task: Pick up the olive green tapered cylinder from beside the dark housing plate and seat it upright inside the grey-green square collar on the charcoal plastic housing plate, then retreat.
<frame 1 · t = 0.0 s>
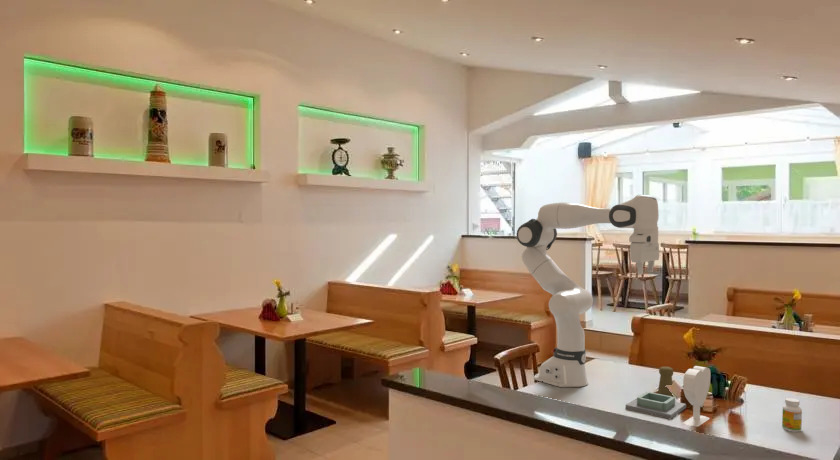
hand: (645, 273, 229), 48 cm above the table, fingers open, 8 cm apart
supplement bottle: (791, 429, 197), on the table
housing: (655, 408, 217), on the table
heart sculpture: (696, 421, 204), on the table
olive green tapered cylinder: (665, 395, 233), on the table
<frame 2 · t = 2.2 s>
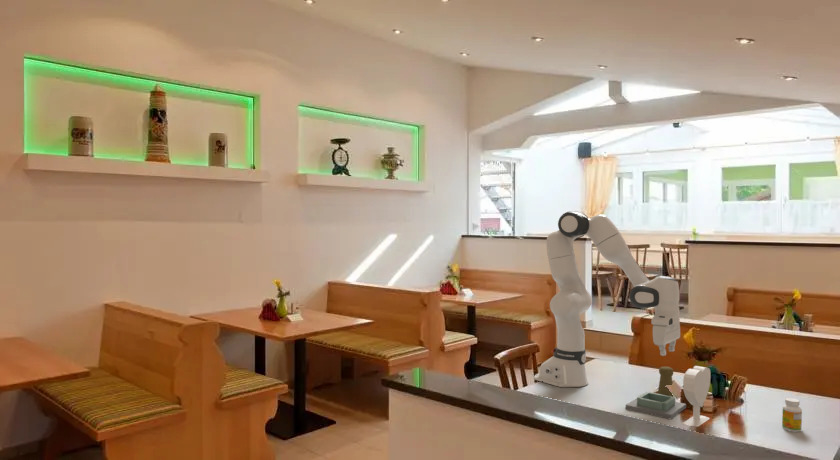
hand: (667, 353, 233), 16 cm above the table, fingers open, 8 cm apart
nothing on the table moved.
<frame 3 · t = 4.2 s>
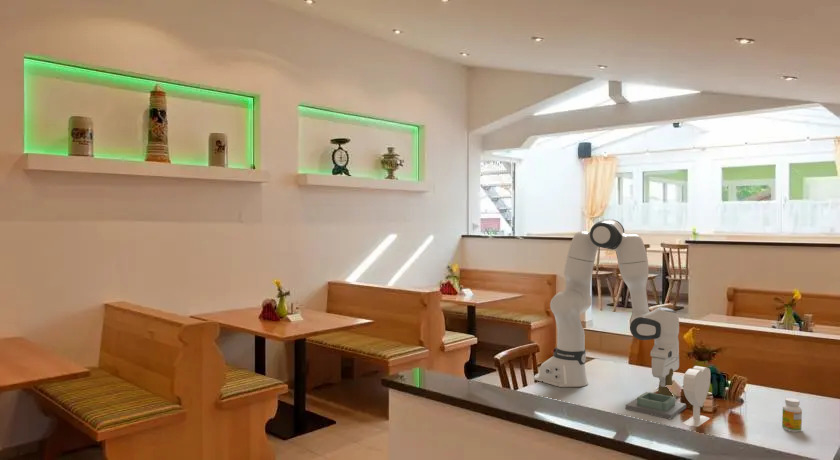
hand: (665, 384, 233), 4 cm above the table, fingers closed on olive green tapered cylinder, 5 cm apart
olive green tapered cylinder: (665, 395, 233), on the table, touching gripper
everything else where it was.
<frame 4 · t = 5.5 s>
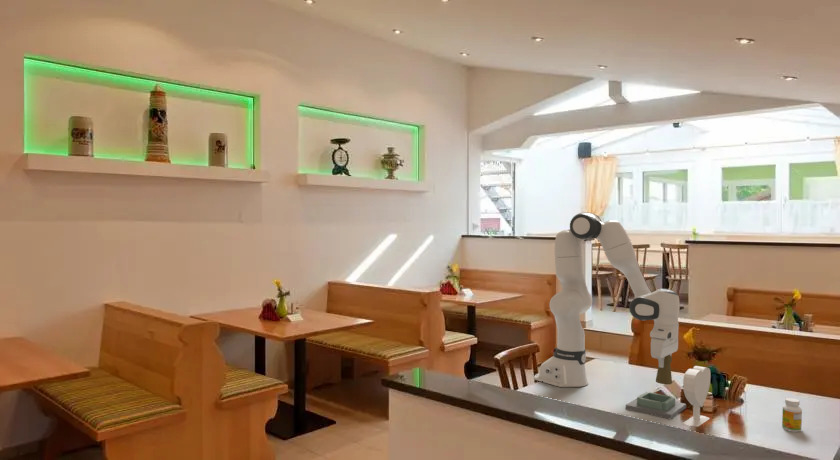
hand: (664, 365, 233), 11 cm above the table, fingers closed on olive green tapered cylinder, 4 cm apart
olive green tapered cylinder: (663, 382, 234), point 5 cm above the table, touching gripper
everything else where it was.
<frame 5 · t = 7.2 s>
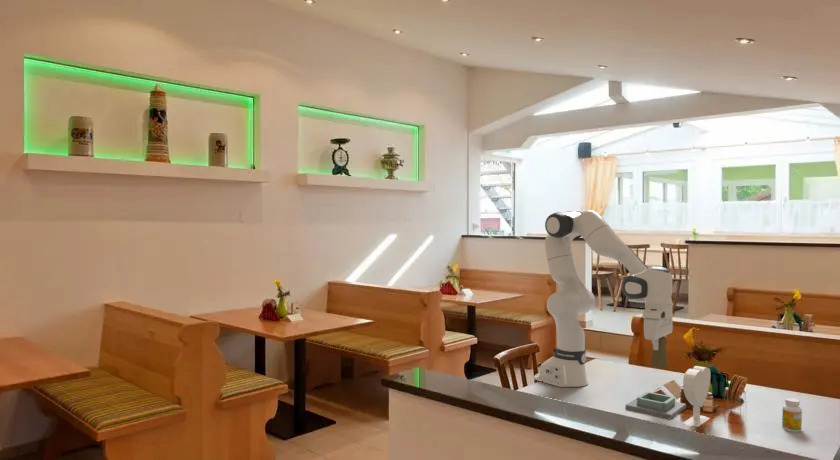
hand: (658, 348, 219), 21 cm above the table, fingers closed on olive green tapered cylinder, 4 cm apart
olive green tapered cylinder: (659, 366, 219), point 15 cm above the table, touching gripper
everything else where it was.
when the fingers open (7 cm above the table, at t = 9.9 s): olive green tapered cylinder stays where it is, resting on housing.
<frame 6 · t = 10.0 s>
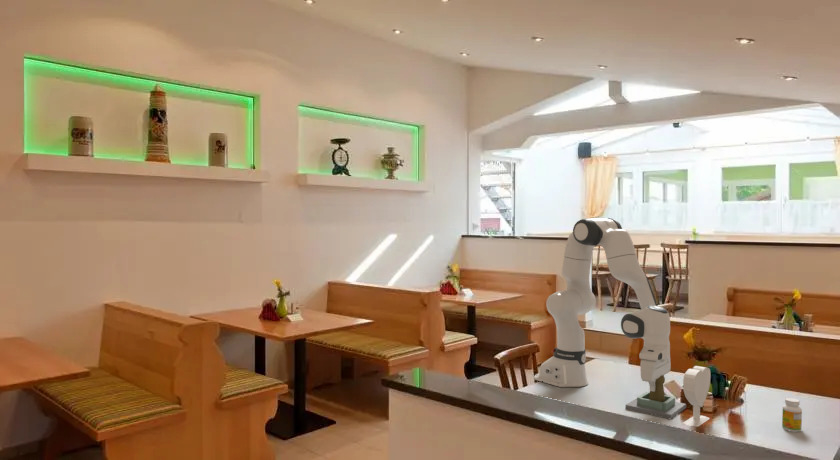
hand: (656, 389, 217), 7 cm above the table, fingers open, 5 cm apart
olive green tapered cylinder: (656, 405, 217), point 1 cm above the table, touching housing
everything else where it was.
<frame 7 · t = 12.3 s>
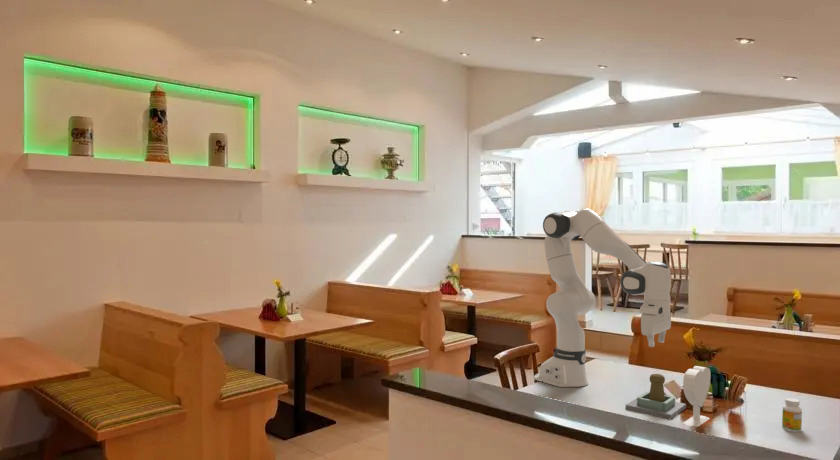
hand: (656, 344, 217), 23 cm above the table, fingers open, 8 cm apart
nothing on the table moved.
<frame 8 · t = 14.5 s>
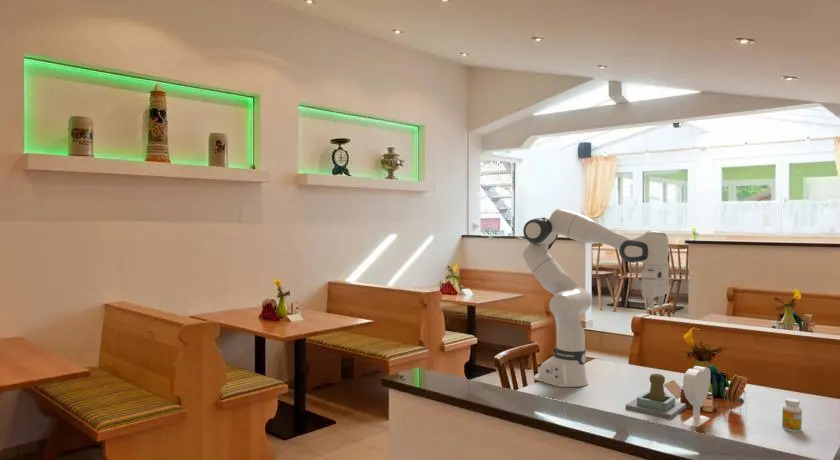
hand: (655, 307, 234), 34 cm above the table, fingers open, 8 cm apart
nothing on the table moved.
at the end: olive green tapered cylinder 0.3 cm off-centre on the housing, point 1.3 cm above the housing's base; olive green tapered cylinder tilted 0°; the gripper is holding nothing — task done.
